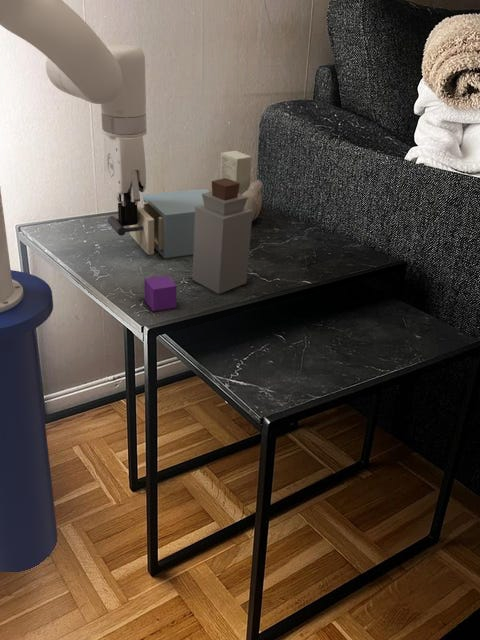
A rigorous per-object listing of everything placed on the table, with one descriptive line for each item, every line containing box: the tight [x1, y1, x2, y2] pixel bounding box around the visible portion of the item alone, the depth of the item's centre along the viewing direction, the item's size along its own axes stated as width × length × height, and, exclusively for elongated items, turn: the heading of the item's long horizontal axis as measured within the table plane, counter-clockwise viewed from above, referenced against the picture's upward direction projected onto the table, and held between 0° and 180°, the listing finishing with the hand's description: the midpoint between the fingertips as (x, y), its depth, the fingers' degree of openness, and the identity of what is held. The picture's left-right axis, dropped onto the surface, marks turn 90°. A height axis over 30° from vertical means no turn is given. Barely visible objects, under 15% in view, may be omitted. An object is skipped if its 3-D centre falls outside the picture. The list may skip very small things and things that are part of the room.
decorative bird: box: [241, 179, 266, 222], centre depth 132 cm, size 5×16×8 cm, turn 163°
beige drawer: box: [107, 201, 164, 256], centre depth 117 cm, size 18×10×7 cm, turn 118°
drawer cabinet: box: [142, 188, 211, 259], centre depth 120 cm, size 14×12×9 cm
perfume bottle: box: [192, 178, 253, 295], centre depth 104 cm, size 7×7×18 cm
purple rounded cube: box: [143, 274, 178, 312], centre depth 98 cm, size 4×4×4 cm
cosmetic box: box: [219, 150, 252, 194], centre depth 139 cm, size 6×4×12 cm
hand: (128, 223), depth 114 cm, fingers closed
